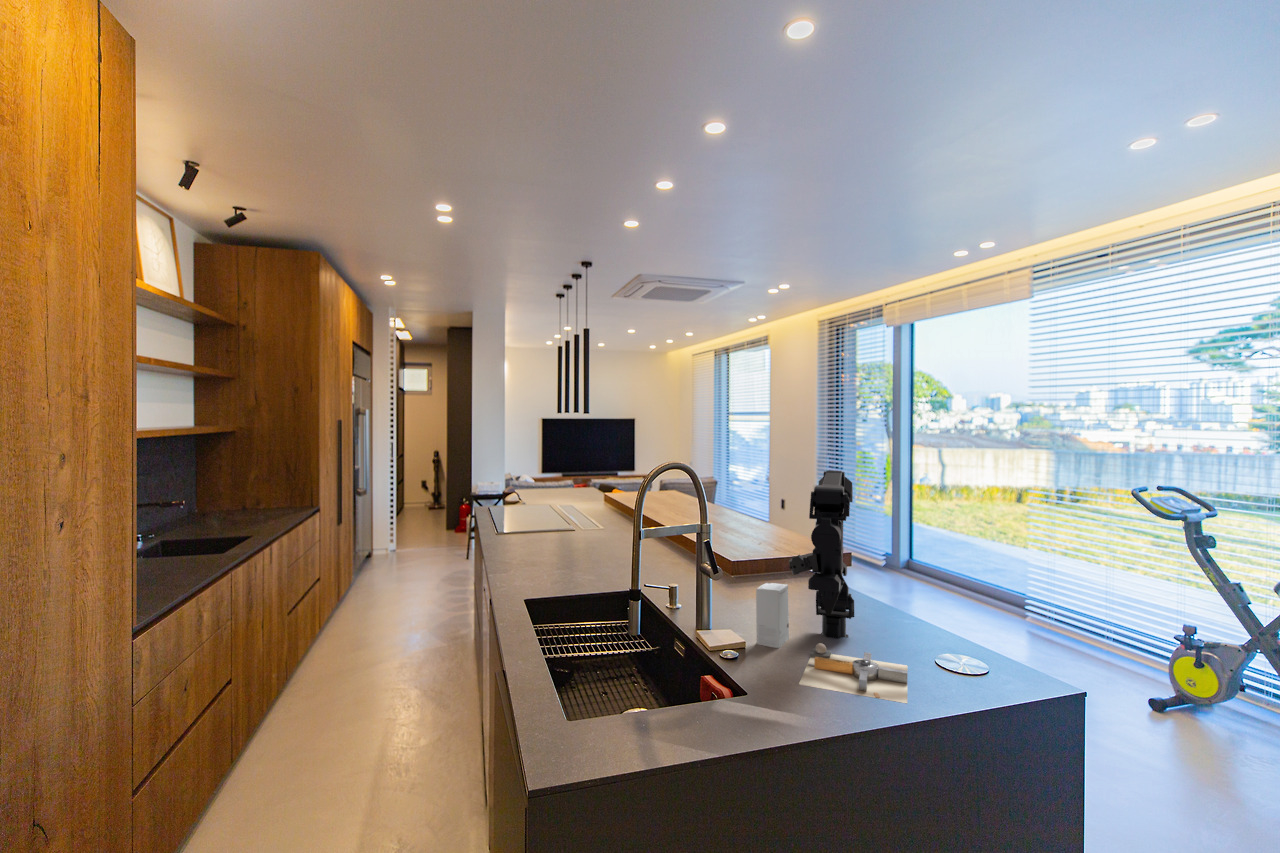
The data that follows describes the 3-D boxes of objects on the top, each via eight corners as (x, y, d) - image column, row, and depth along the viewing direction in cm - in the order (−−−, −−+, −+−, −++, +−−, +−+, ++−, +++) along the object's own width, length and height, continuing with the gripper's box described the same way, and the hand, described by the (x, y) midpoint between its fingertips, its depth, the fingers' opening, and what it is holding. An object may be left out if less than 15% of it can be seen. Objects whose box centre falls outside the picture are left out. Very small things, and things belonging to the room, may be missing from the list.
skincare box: (779, 654, 140) (780, 591, 140) (754, 650, 143) (755, 587, 143) (789, 643, 148) (789, 583, 148) (765, 639, 151) (766, 580, 151)
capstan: (819, 655, 136) (820, 641, 136) (907, 668, 129) (907, 654, 129) (809, 682, 121) (809, 666, 122) (907, 699, 114) (907, 682, 114)
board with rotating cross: (813, 657, 139) (813, 639, 139) (907, 672, 130) (907, 653, 130) (798, 691, 120) (798, 670, 120) (907, 711, 112) (907, 688, 112)
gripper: (798, 534, 144) (798, 598, 144) (784, 547, 127) (783, 621, 127) (847, 537, 140) (847, 604, 140) (838, 552, 123) (838, 628, 123)
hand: (828, 614), depth 133 cm, fingers closed
